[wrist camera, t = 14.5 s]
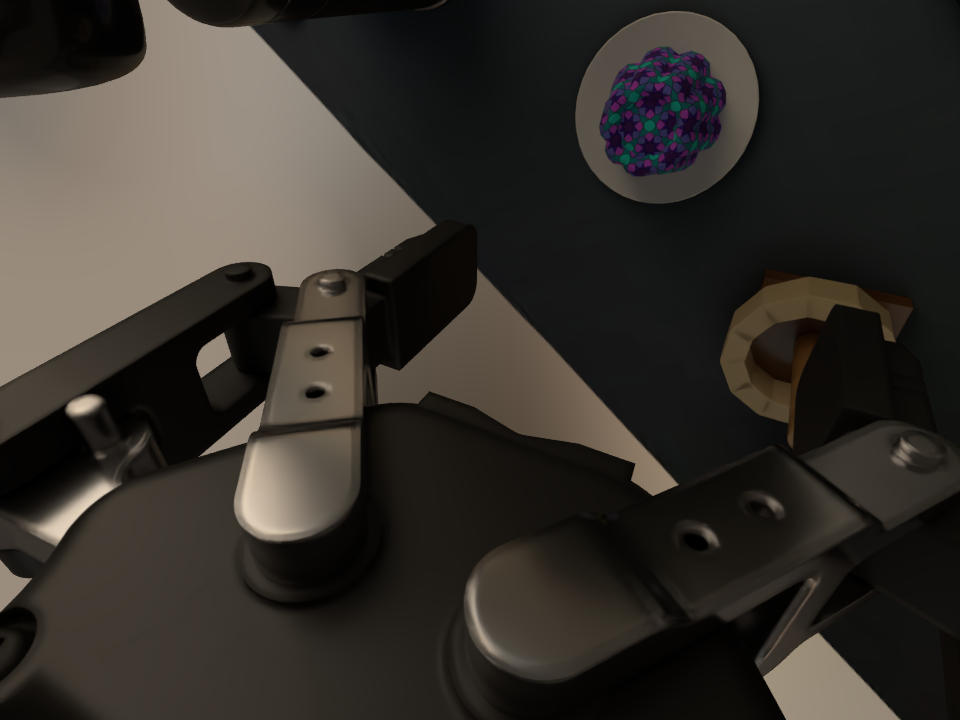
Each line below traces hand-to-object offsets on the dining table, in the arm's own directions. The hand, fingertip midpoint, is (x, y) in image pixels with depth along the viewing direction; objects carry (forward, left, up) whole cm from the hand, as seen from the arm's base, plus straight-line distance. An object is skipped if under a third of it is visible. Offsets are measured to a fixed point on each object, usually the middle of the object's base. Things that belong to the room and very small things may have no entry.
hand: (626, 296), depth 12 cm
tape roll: (+9, -16, -29) cm, 34 cm away
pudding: (-5, -2, -30) cm, 31 cm away
